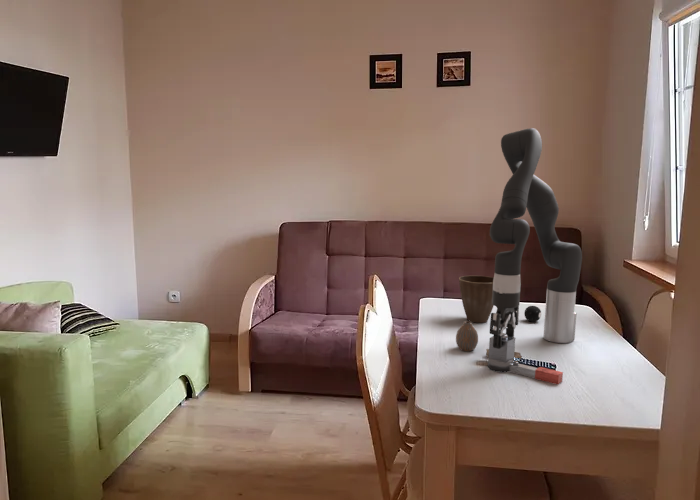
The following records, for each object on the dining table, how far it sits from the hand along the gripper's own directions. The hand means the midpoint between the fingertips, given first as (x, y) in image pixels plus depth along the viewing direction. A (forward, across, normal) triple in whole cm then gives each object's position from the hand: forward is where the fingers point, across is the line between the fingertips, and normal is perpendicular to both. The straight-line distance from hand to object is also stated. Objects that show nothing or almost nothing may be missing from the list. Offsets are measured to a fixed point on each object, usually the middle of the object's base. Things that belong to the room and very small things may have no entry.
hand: (503, 344), depth 164 cm
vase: (+7, -9, -16) cm, 20 cm away
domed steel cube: (+4, 0, 0) cm, 4 cm away
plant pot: (+8, -43, -29) cm, 53 cm away
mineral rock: (+8, -8, -3) cm, 12 cm away
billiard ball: (+8, -57, -13) cm, 59 cm away
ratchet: (+7, 0, +6) cm, 10 cm away
